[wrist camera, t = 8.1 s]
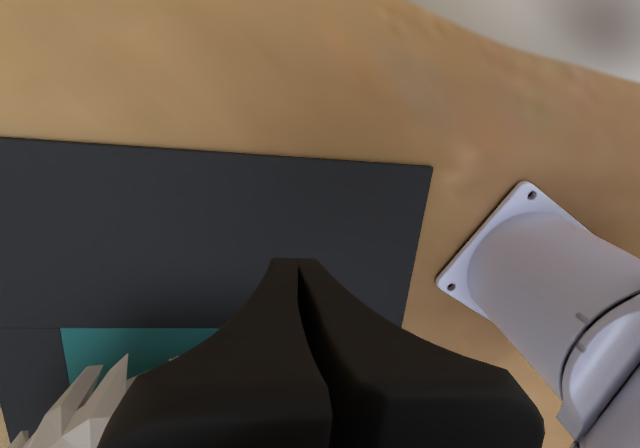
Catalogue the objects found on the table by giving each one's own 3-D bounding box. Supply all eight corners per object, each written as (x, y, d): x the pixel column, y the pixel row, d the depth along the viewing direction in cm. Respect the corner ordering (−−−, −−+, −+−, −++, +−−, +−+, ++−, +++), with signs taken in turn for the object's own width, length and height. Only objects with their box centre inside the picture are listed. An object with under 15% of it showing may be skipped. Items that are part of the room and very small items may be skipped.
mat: (-64, 132, 18) (-71, 133, 18) (430, 165, 22) (433, 167, 21) (43, 554, 29) (40, 560, 29) (358, 531, 33) (359, 536, 33)
